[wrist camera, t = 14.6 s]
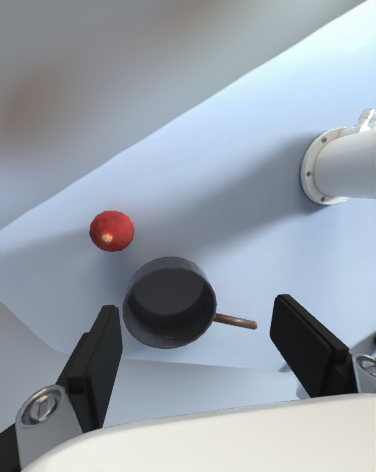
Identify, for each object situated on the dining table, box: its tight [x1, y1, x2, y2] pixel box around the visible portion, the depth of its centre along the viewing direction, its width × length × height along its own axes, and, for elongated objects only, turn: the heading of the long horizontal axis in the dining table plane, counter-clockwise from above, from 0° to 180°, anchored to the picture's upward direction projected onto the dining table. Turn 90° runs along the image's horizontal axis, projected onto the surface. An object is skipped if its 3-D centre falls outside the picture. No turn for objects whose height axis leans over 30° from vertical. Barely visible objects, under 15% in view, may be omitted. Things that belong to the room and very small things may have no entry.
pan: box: [123, 257, 217, 349], centre depth 32 cm, size 15×15×4 cm
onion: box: [89, 211, 134, 252], centre depth 26 cm, size 6×6×8 cm
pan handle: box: [213, 313, 257, 329], centre depth 33 cm, size 9×1×1 cm, turn 71°
